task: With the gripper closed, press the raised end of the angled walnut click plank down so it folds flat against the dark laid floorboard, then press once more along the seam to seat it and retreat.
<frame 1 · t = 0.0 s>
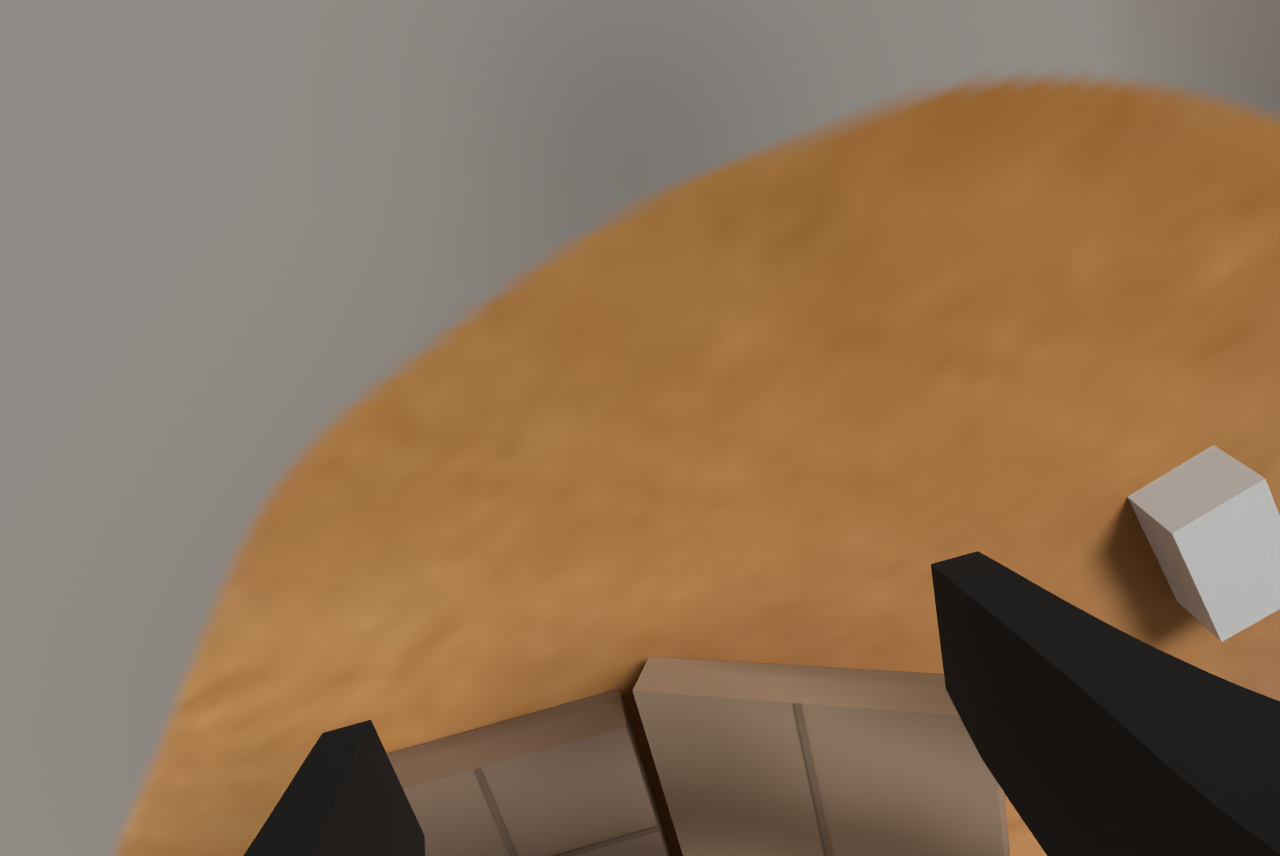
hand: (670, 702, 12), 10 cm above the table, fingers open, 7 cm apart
click plank: (834, 838, 24), point 3 cm above the table, hinge at 28.0°
light grey block: (1189, 522, 25), on the table
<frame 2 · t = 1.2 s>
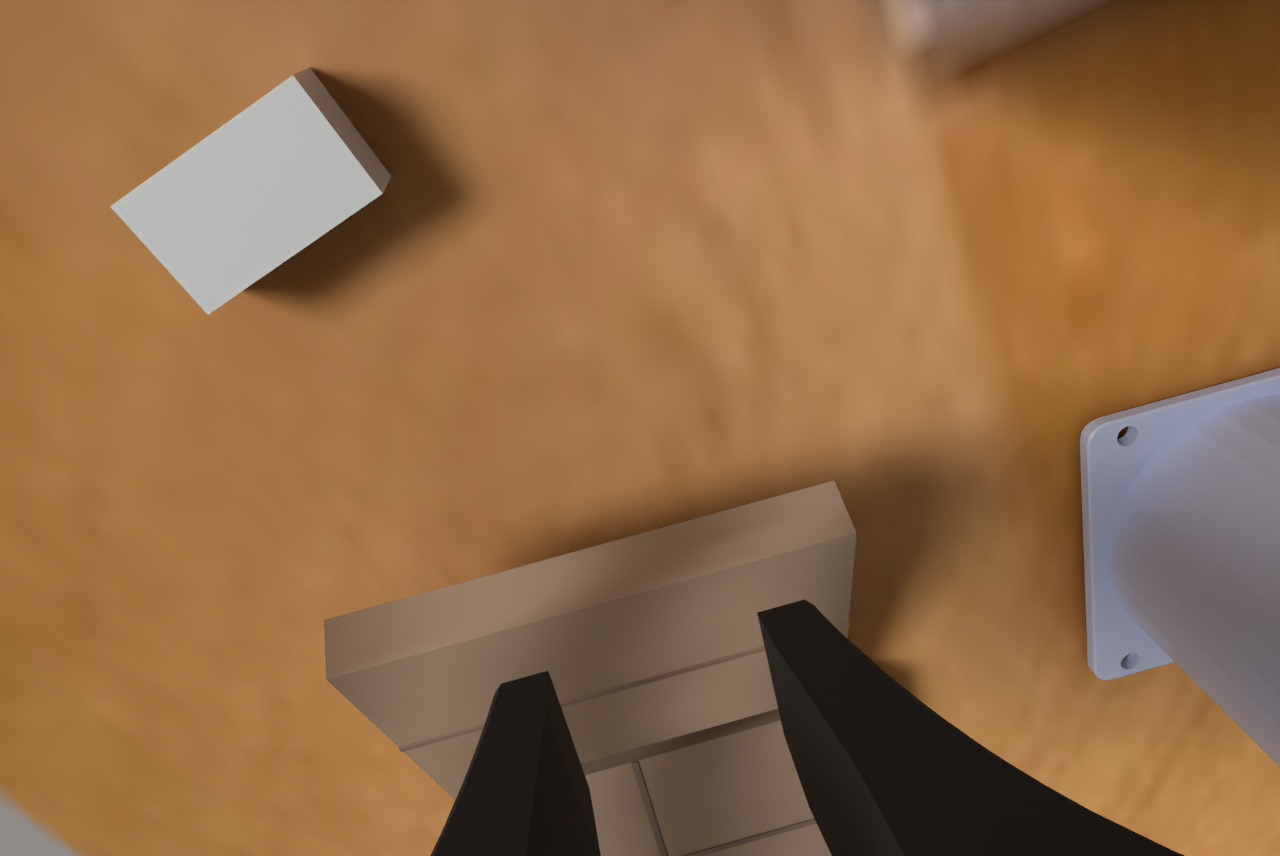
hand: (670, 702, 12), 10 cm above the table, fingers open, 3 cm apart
click plank: (620, 661, 21), point 3 cm above the table, hinge at 28.0°
laid board: (707, 799, 27), on the table
light grey block: (271, 179, 19), on the table
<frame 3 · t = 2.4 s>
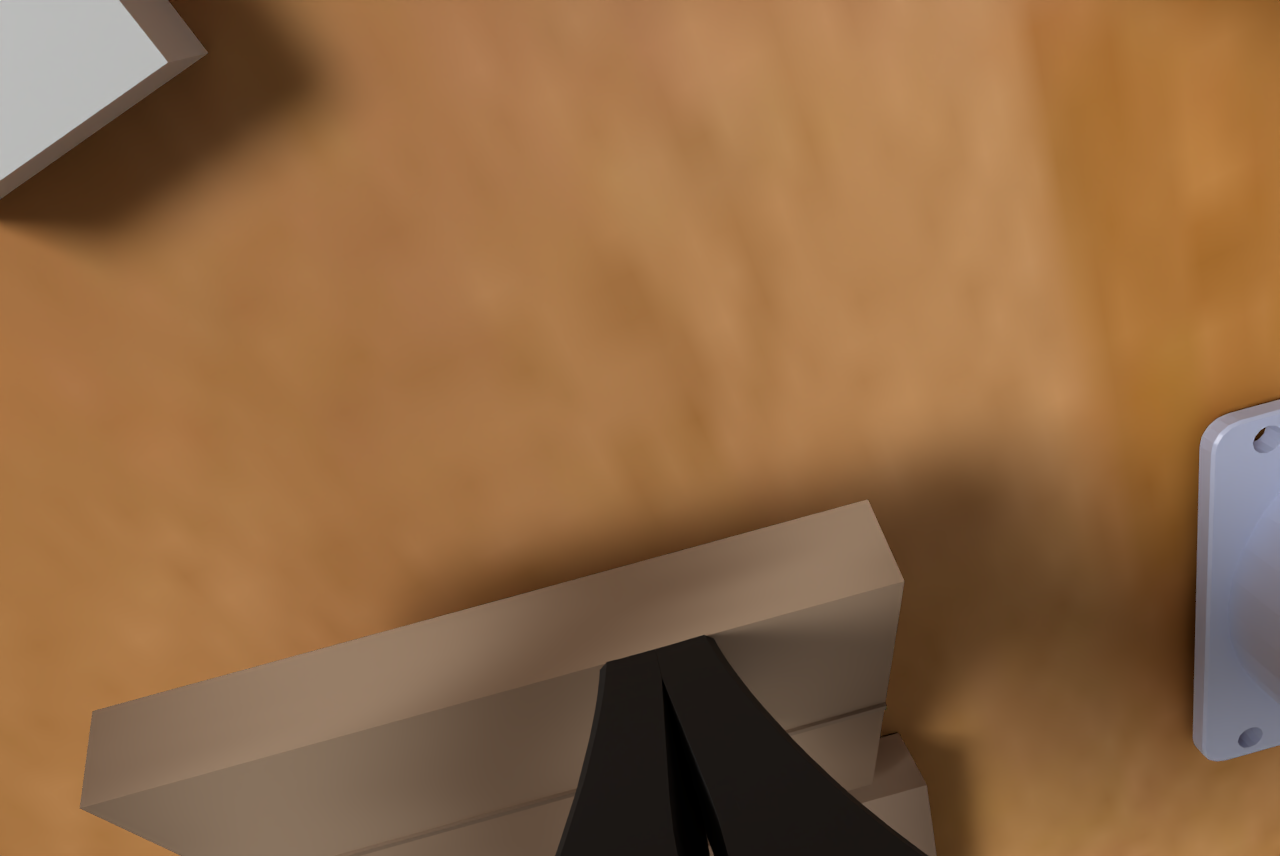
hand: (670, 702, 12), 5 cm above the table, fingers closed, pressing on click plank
click plank: (558, 756, 15), point 3 cm above the table, hinge at 27.1°, touching gripper
light grey block: (27, 54, 13), on the table
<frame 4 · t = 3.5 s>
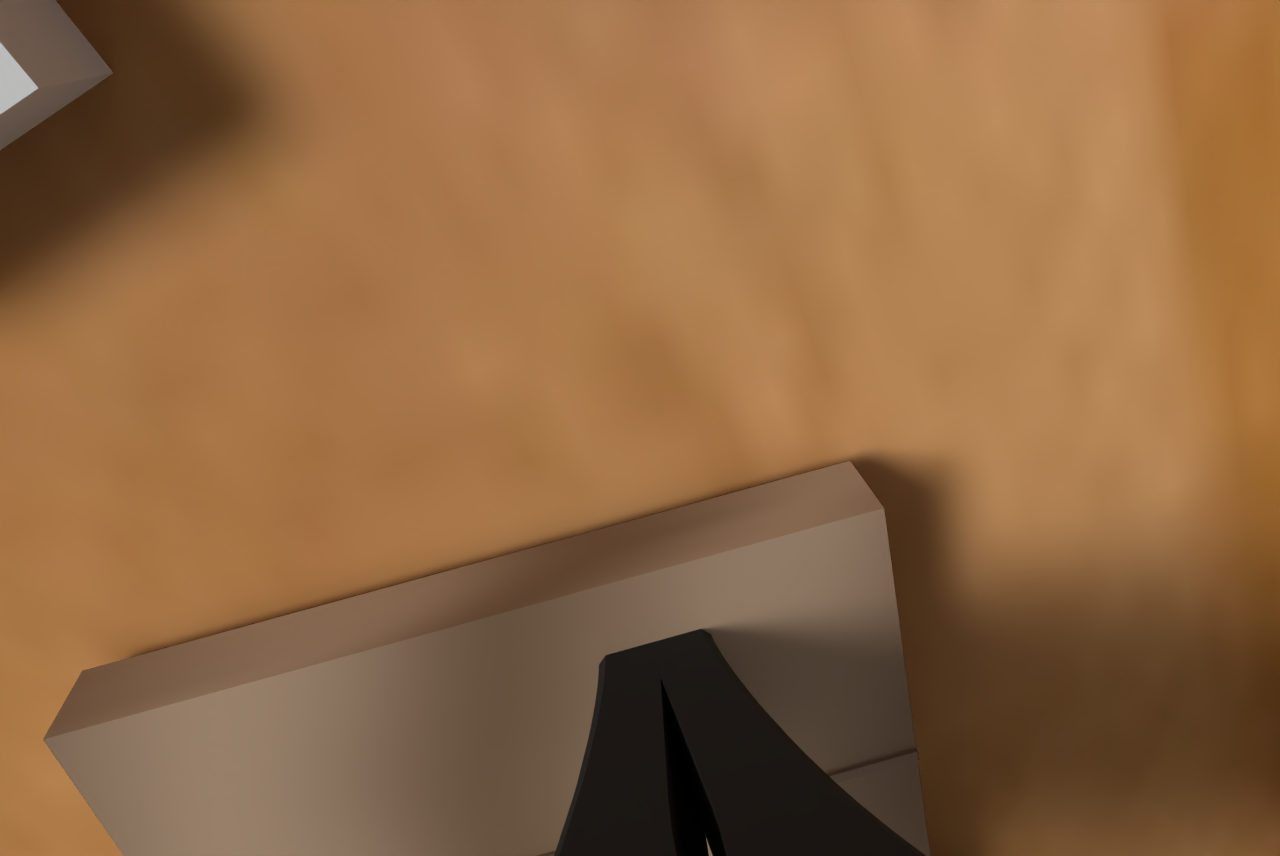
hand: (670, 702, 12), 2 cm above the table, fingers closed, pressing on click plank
click plank: (556, 819, 14), point 1 cm above the table, hinge at 1.3°, touching gripper
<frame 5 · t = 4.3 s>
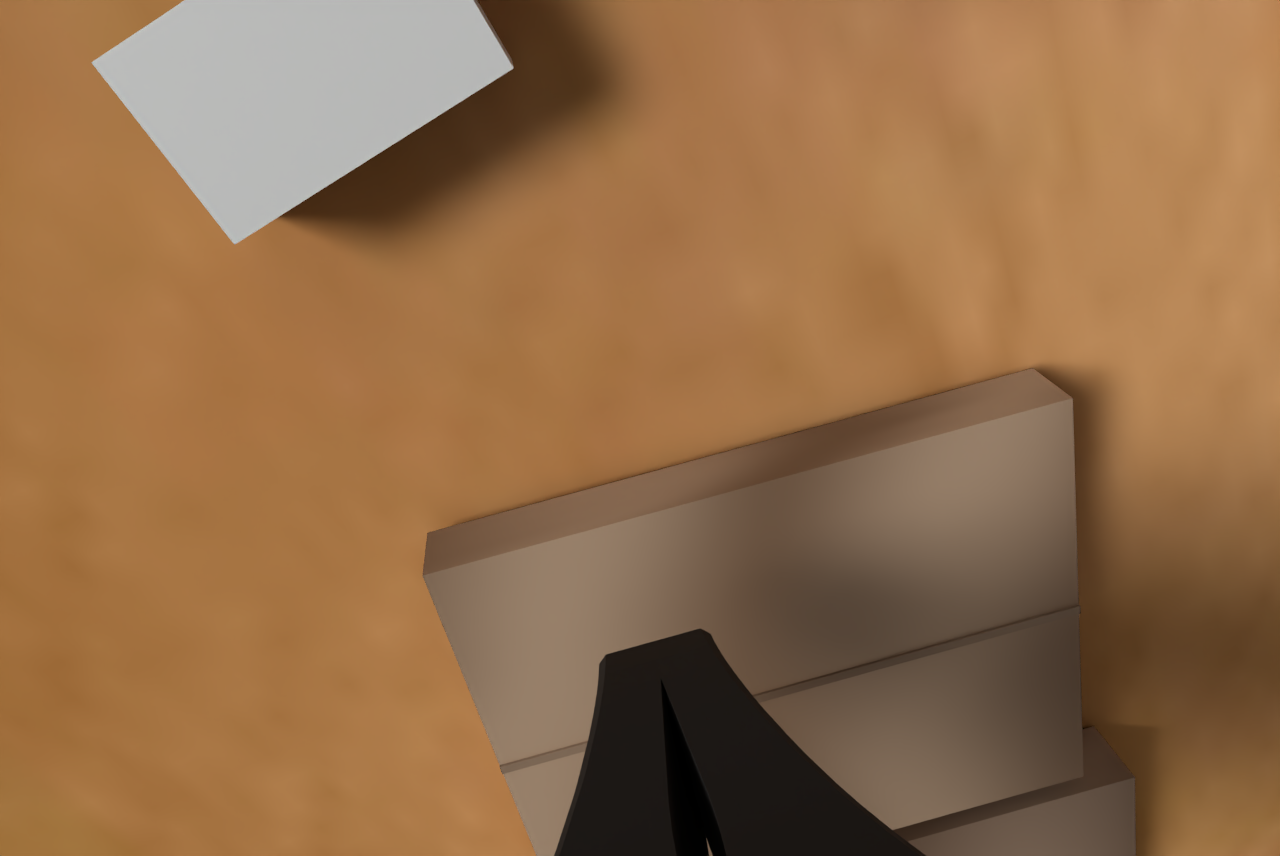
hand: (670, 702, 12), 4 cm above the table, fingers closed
click plank: (782, 665, 17), point 1 cm above the table, hinge at 1.1°
light grey block: (334, 55, 13), on the table
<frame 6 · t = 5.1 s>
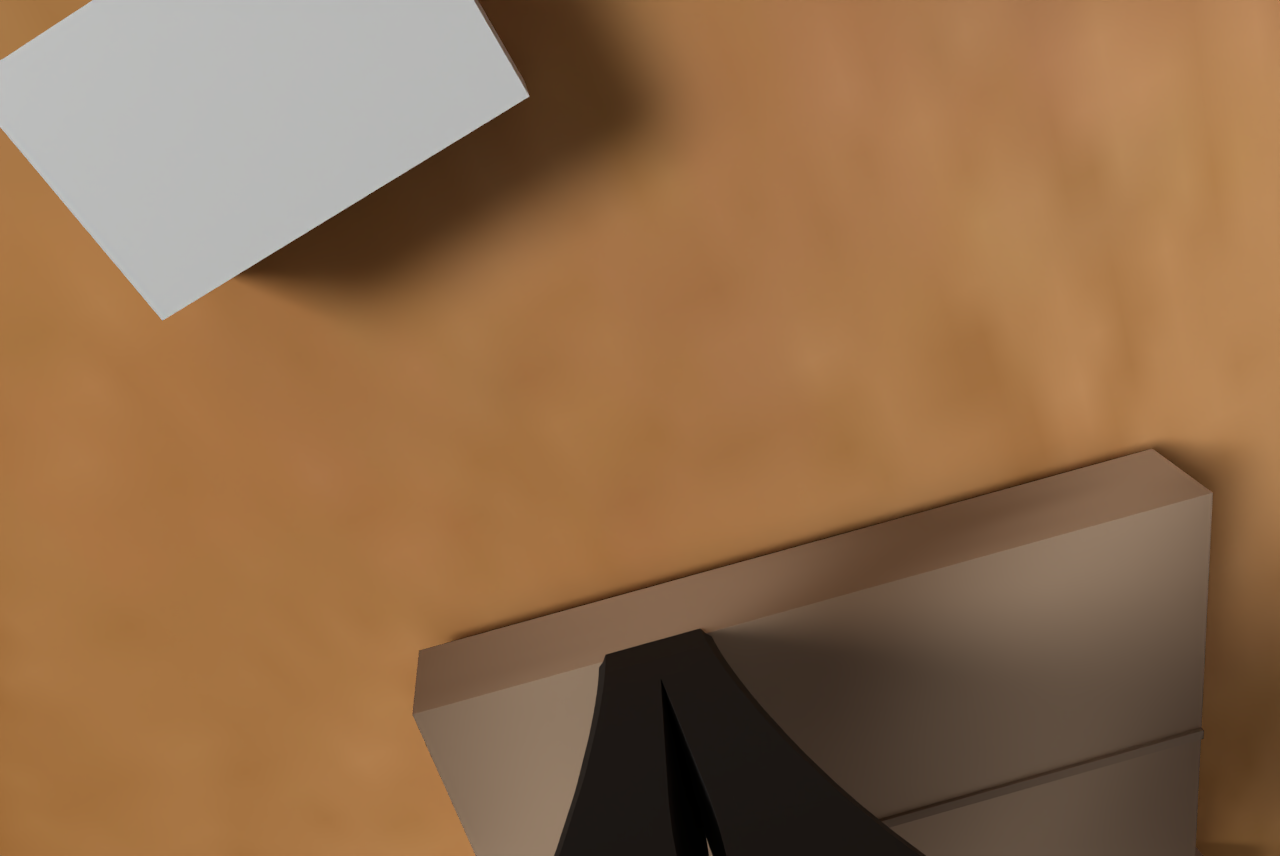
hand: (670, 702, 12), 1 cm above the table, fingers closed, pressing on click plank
click plank: (844, 797, 14), point 1 cm above the table, hinge at 1.1°, touching gripper
light grey block: (299, 73, 10), on the table
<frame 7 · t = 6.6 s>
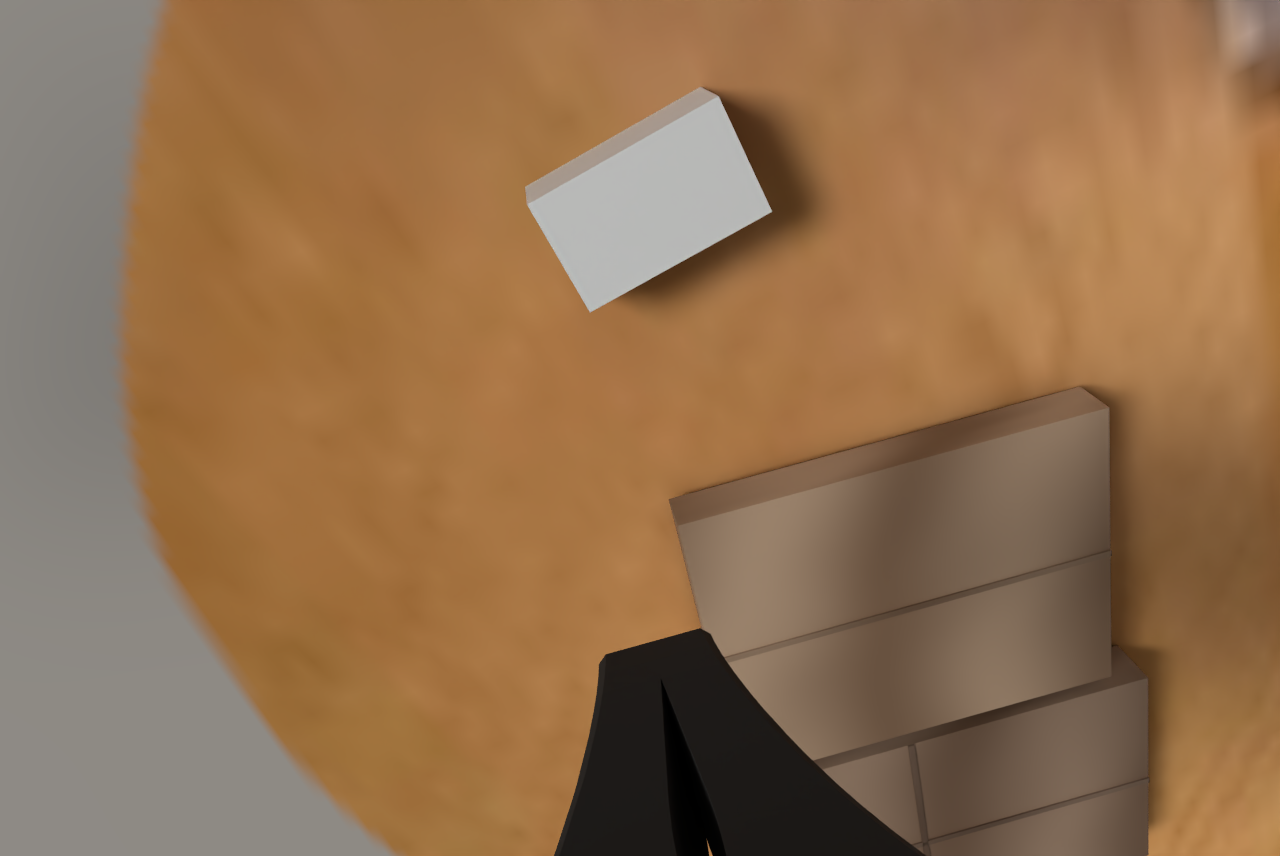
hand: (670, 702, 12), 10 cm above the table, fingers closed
click plank: (903, 593, 24), point 1 cm above the table, hinge at 1.1°
laid board: (954, 782, 28), on the table
light grey block: (638, 188, 20), on the table
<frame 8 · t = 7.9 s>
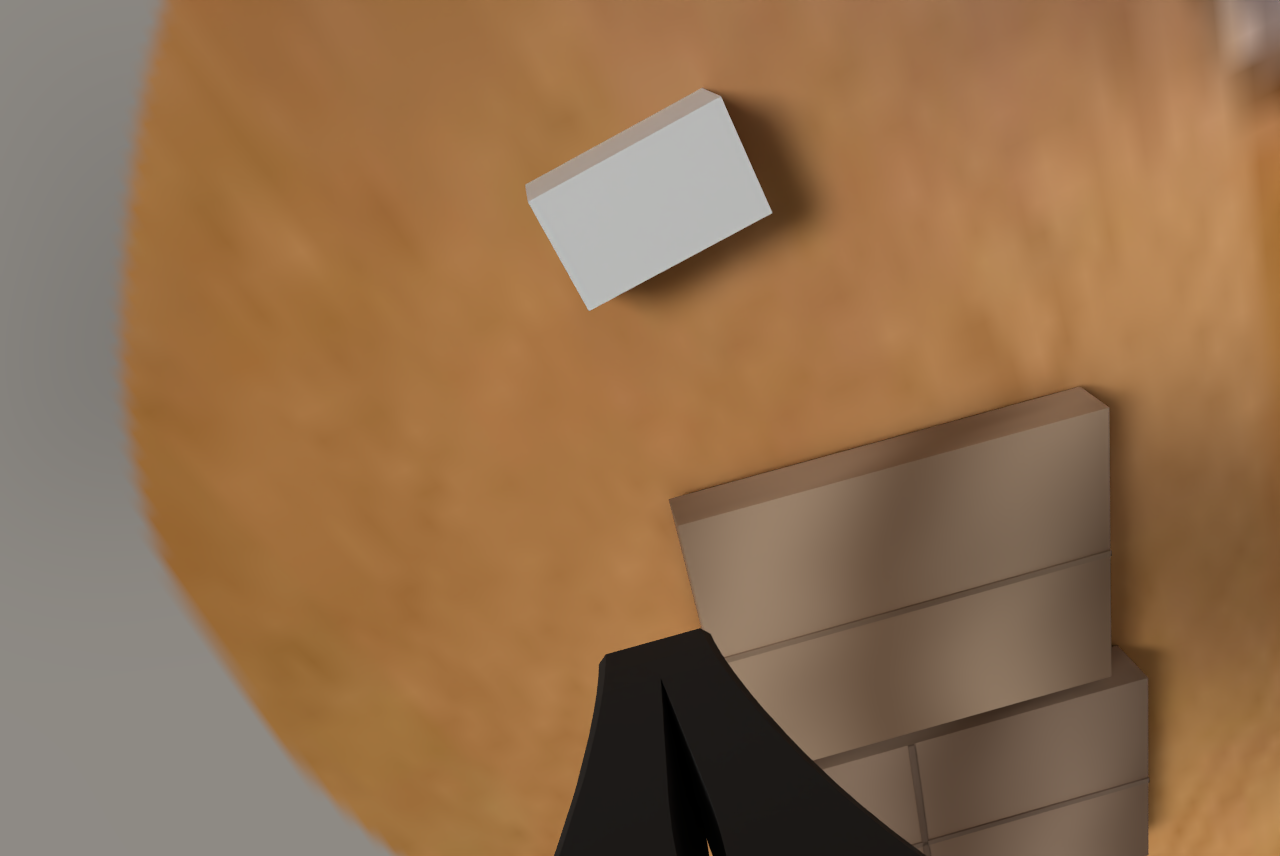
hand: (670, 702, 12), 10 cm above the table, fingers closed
click plank: (903, 593, 24), point 1 cm above the table, hinge at 1.1°
laid board: (954, 782, 28), on the table
light grey block: (638, 188, 20), on the table
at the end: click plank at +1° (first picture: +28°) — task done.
